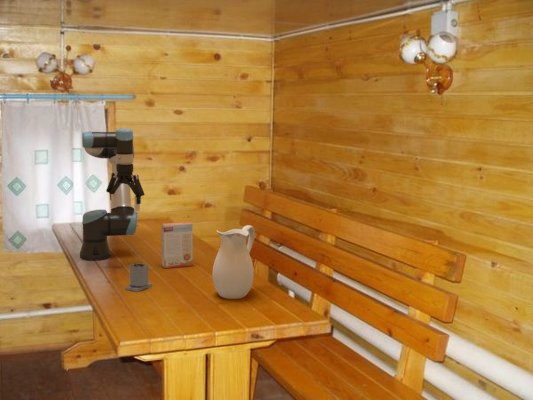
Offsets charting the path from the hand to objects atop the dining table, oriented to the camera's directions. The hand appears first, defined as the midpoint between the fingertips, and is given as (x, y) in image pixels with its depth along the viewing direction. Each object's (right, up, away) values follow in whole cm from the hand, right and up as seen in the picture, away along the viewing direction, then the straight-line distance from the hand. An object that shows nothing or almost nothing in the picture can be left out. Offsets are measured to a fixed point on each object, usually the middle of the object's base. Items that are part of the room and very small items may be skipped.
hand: (125, 209), depth 293 cm
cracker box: (+22, -27, +13) cm, 37 cm away
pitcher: (+53, -35, -26) cm, 68 cm away
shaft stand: (+11, -33, -22) cm, 41 cm away
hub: (+11, -31, -23) cm, 40 cm away
